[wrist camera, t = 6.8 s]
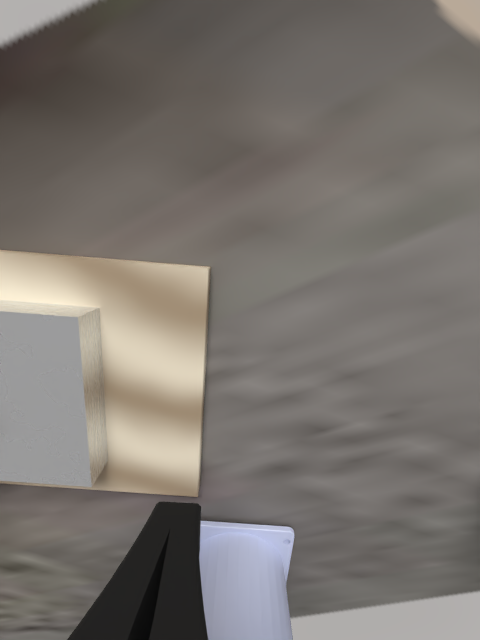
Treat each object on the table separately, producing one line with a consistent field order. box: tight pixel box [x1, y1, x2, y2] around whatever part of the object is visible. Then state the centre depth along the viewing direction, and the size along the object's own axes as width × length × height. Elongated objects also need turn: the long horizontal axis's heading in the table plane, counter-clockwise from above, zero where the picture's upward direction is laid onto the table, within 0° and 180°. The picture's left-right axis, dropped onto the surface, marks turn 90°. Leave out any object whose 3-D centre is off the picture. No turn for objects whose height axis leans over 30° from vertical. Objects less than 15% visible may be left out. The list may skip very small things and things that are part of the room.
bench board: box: [0, 250, 211, 497], centre depth 15 cm, size 15×16×5 cm
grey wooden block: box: [0, 300, 108, 487], centre depth 15 cm, size 10×7×2 cm
